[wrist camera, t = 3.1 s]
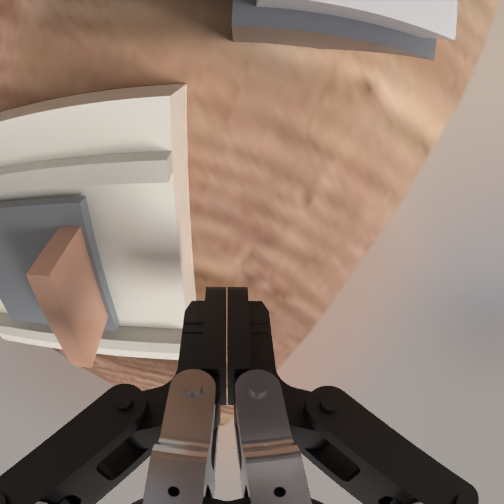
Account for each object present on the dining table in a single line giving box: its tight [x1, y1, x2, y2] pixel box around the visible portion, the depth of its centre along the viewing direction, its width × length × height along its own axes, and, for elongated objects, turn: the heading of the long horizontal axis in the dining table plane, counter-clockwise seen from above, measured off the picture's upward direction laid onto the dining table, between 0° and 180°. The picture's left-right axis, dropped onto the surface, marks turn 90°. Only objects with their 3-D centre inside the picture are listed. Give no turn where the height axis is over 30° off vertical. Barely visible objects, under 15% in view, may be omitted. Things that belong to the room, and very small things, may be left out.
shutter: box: [0, 196, 119, 368], centre depth 11 cm, size 7×7×4 cm
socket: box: [0, 84, 196, 360], centre depth 14 cm, size 14×14×5 cm
